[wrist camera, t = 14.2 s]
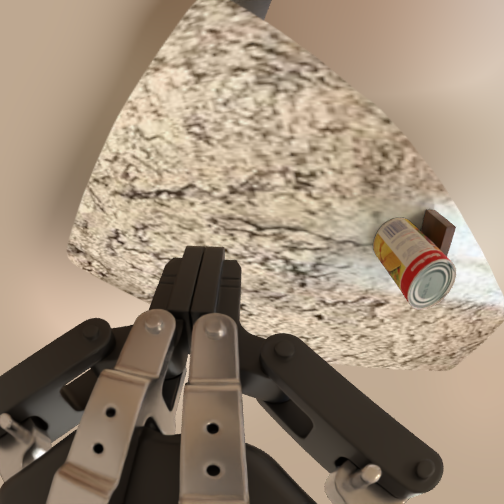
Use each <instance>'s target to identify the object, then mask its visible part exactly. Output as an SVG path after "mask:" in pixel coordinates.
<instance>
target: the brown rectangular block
mask: <svg viewBox="0 0 504 504" xmlns="http://www.w3.org/2000/svg"><path fill="white" fill-rule="evenodd" d="M455 228H456V227H455V226H454V225H453V224H452V223H450V222H449V221H448V220H447V219H445V218H444V217H443V216H442V215H440V214H439V213H438V212H437V211H435V210H426V211H425V216H424V220H423V224H422V228H421V232H422V233H423V234H424V235H425V236H426V237H427V238H428V239H429V240H430V241H431V242H432V243H434V244H435V245H436V246H437V247H438V248H439V249H440V250H441V251H442V252H443V253H444V255H445V256H446V257H447V254H448V251H449V248H450V245H451V242H452V238H453V235H454V232H455Z"/></svg>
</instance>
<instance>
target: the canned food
mask: <svg viewBox="0 0 504 504" xmlns="http://www.w3.org/2000/svg"><path fill="white" fill-rule="evenodd" d="M373 249H374V252H375V255H376V256H377V257H378V259H379V260H380V261H381V263H382V264H383V266H384V267H385V269H386V270H387V271H388V273H389V274H390V276H391V277H392V279H393V280H394V281H395V283H396V284H397V286H398V287H399V289H400V290H401V292H402V293H403V295H404V296H405V298H406V299H407V301H408V302H409V304H410V305H411V307H413V308H415V309H419V310H422V309H427V308H430V307H432V306H434V305H436V304H437V303H439V302H440V301H441V300H442V299H443V298H444V297H445V296H446V295H447V294H448V293H449V291H450V290H451V288H452V286H453V284H454V282H455V278H456V268H455V266H454V264H453V263H452V262H451V261H450V260H449V259H448V258H447V257H446V256H445V255H444V253H443V252H442V251H441V250H440V249H439V248H438V247H437V246H436V245H435V244H434V243H432V242H431V241H430V240H429V239H428V238H427V237H426V236H425V235H424V234H423V233H422V232H421V231H420V230H419V229H418V228H417V227H416V226H415V225H414V224H412V223H411V222H410V221H409V220H408V219H405V218H394V219H391V220H389V221H388V222H386V223H385V224H384V225H382V226H381V228H380V229H379V230H378V232H377V234H376V236H375V238H374V243H373Z"/></svg>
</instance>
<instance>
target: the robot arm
mask: <svg viewBox="0 0 504 504" xmlns="http://www.w3.org/2000/svg"><path fill="white" fill-rule="evenodd" d="M240 300H241V267H240V265H239V264H238V262H237V260H225V249H224V247H207V246H206V248H205V246H186V249H185V252H184V255H183V257H182V258H173V259H172V260H170V261H169V262H168V263H167V264H166V265H165V268H164V270H163V273H162V276H161V278H160V281H159V284H158V286H157V289H156V291H155V294H154V297H153V300H152V302H151V305H150V308H149V310H148V311H146V312H144V313H142V314H141V315H139V316H138V317H137V319H136V321H135V322H134V324H133V325H130V326H125V327H118V328H111V327H110V325H109V323H108V322H107V321H105V320H103V319H100V318H92V319H88V320H86V321H84V322H82V323H81V324H79V325H78V326H76V327H75V328H73V329H71V330H70V331H68V332H67V333H65V334H64V335H62V336H60V337H59V338H57V339H56V340H54V341H53V342H51V343H50V344H48V345H46V346H45V347H44V348H42V349H40V350H39V351H37V352H36V353H34V354H33V355H31V356H30V357H28V358H27V359H25V360H24V361H22V362H21V363H19V364H18V365H16V366H15V367H13V368H12V369H10V370H9V371H7V372H6V373H4V374H3V375H1V376H0V475H1V477H2V479H3V481H4V484H3V485H2V487H1V488H0V504H317V503H316V502H315V501H314V500H313V499H312V498H311V497H310V496H309V495H308V494H307V493H306V492H305V491H304V490H303V489H302V488H301V487H300V486H299V485H298V484H297V483H296V482H295V481H294V480H293V479H292V478H291V477H290V476H289V475H288V474H287V472H286V471H285V470H284V469H283V468H282V467H281V466H280V465H279V464H278V463H277V462H276V461H275V460H274V459H273V458H272V457H270V456H269V455H268V454H267V453H265V452H264V451H262V450H261V449H258V448H257V447H255V446H252V445H250V444H247V443H245V437H244V436H245V434H244V419H243V403H242V394H245V395H248V396H251V397H254V398H256V399H257V401H258V403H259V404H260V405H261V406H262V407H263V408H264V409H265V410H266V411H267V412H268V413H269V414H270V416H271V417H272V418H273V419H274V420H275V421H276V422H277V423H278V424H279V425H280V426H281V427H282V428H283V429H284V430H285V431H286V432H287V433H288V434H289V435H290V436H291V437H292V438H293V439H294V440H295V441H296V442H297V443H298V444H299V445H300V446H301V447H302V448H303V449H304V450H305V451H306V452H307V453H309V454H310V455H311V456H312V457H313V458H314V459H315V460H316V461H317V462H318V463H319V464H320V465H321V466H322V467H323V468H325V469H326V470H327V471H328V472H329V473H330V475H329V476H328V478H327V479H326V482H325V493H326V495H327V497H328V498H329V499H330V501H331V502H332V503H333V504H405V503H406V502H407V500H409V499H410V498H411V497H414V496H417V495H420V494H423V493H426V492H428V491H430V490H432V489H433V488H434V487H435V486H436V485H437V484H438V483H439V481H440V480H441V477H442V474H443V462H442V459H441V457H440V456H439V454H437V452H435V451H434V450H433V449H432V448H430V447H429V446H428V445H427V444H425V443H424V442H423V441H421V440H420V439H419V438H418V437H416V436H415V435H414V434H413V433H411V432H410V431H409V430H408V429H406V428H405V427H404V426H403V425H401V424H400V423H399V422H397V421H396V420H395V419H394V418H392V417H391V416H390V415H389V414H388V413H386V412H385V411H384V410H383V409H382V408H380V407H379V406H378V405H377V404H375V403H374V402H373V401H372V400H371V399H369V398H368V397H367V396H366V395H365V394H363V393H362V392H361V391H360V390H358V389H357V388H356V387H355V386H354V385H353V384H351V383H350V382H349V381H348V380H347V379H346V378H344V377H343V376H342V375H341V374H340V373H338V372H337V371H336V370H335V369H334V368H333V367H332V366H330V365H329V364H328V363H327V362H326V361H325V360H323V359H322V358H321V357H320V356H319V355H318V354H316V353H315V352H314V351H313V350H312V349H311V348H310V347H308V346H307V345H306V344H305V343H304V342H303V341H302V340H300V339H299V338H298V337H296V336H294V335H291V334H285V333H279V334H274V335H272V336H270V337H268V338H267V339H264V338H261V337H257V336H255V335H252V334H250V333H249V332H247V331H246V330H245V329H244V328H243V327H242V326H241V324H240V321H239V319H240ZM188 354H190V366H189V378H188V382H187V383H186V384H185V387H184V395H183V411H182V427H181V434H175V428H176V424H175V415H176V411H177V407H178V403H179V399H180V395H181V391H182V387H183V383H184V379H185V375H186V362H187V357H188ZM89 368H91V369H90V370H88V371H87V372H85V371H86V370H87V369H89ZM83 372H85V373H84V374H83V375H81V376H80V377H78V378H77V379H75V380H74V381H73V382H71V383H69V384H68V385H66V384H67V383H68V382H70V381H71V380H73V379H74V378H76V377H77V376H79V375H80V374H82V373H83ZM78 424H79V426H78V429H77V430H75V431H73V432H72V433H71V434H69V435H68V436H67V437H66V438H64V439H63V440H61V441H60V442H59V443H57V444H56V445H55V446H53V447H52V446H51V443H52V442H53V441H55V440H56V439H58V438H59V437H61V436H62V435H64V434H65V433H67V432H68V431H69V430H70V429H72V428H74V427H75V426H77V425H78Z"/></svg>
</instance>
